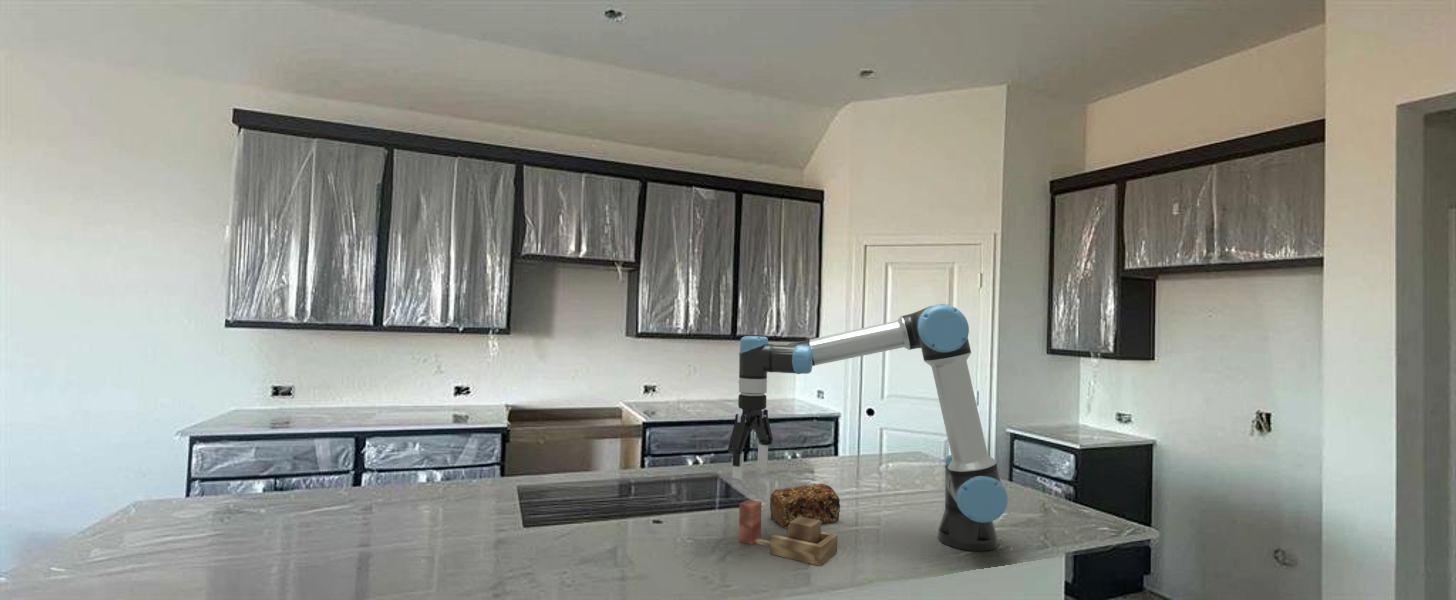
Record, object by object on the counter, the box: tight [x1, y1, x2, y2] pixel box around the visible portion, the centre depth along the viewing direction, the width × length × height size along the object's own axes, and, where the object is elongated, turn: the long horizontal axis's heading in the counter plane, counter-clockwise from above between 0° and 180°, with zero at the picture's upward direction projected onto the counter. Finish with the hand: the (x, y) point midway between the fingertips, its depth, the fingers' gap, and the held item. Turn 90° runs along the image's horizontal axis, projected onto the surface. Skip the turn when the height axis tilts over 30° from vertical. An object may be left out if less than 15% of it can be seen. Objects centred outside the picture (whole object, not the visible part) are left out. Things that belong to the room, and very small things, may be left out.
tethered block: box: [738, 499, 822, 548], centre depth 165 cm, size 21×6×10 cm, turn 59°
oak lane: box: [770, 525, 839, 566], centre depth 161 cm, size 14×11×4 cm
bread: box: [769, 483, 841, 528], centre depth 188 cm, size 19×11×10 cm, turn 108°
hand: (750, 473), depth 170 cm, fingers open, 13 cm apart
